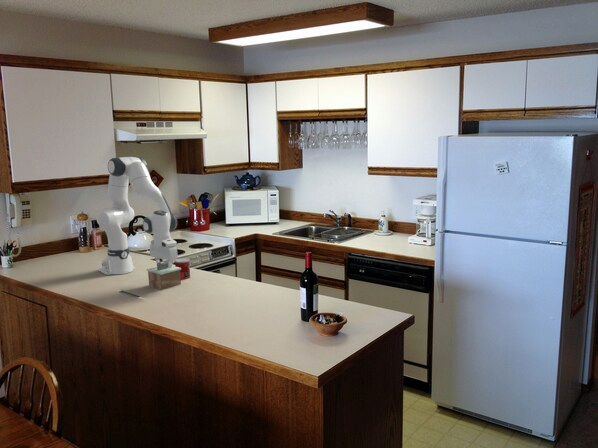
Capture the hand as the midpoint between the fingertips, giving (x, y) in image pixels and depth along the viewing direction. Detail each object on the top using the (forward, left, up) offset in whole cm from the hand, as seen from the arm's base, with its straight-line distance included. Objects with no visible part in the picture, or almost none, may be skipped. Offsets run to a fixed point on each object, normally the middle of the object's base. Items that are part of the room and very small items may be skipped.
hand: (164, 266), depth 293 cm
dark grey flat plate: (-3, -13, -11) cm, 17 cm away
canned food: (-4, +15, -11) cm, 19 cm away
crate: (0, 0, -11) cm, 11 cm away
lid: (0, 0, -3) cm, 3 cm away
